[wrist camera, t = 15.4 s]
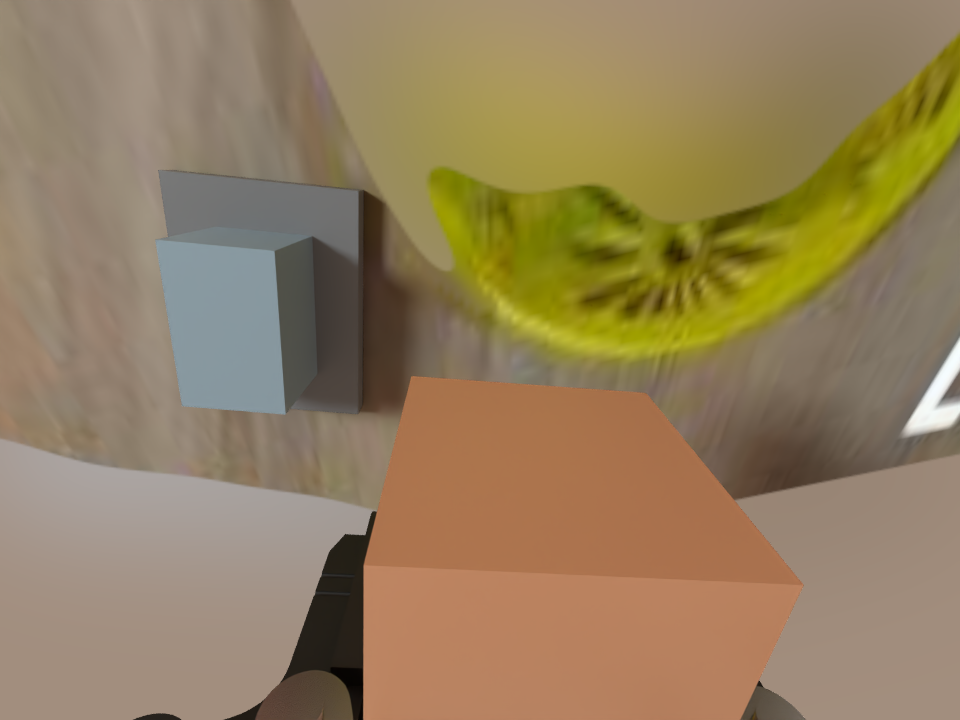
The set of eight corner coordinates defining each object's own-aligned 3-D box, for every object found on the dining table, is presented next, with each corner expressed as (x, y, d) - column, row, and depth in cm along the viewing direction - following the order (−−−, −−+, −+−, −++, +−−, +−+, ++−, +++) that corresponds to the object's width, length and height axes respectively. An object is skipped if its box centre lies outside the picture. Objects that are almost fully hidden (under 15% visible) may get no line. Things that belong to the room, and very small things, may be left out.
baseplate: (363, 190, 25) (358, 191, 24) (362, 405, 30) (358, 414, 29) (172, 170, 25) (158, 170, 23) (202, 391, 29) (192, 400, 28)
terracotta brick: (646, 392, 10) (803, 585, 5) (581, 651, 13) (646, 918, 8) (411, 375, 10) (363, 565, 5) (399, 645, 13) (362, 920, 8)
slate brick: (312, 235, 25) (274, 250, 20) (317, 373, 28) (285, 414, 23) (216, 226, 25) (155, 239, 20) (231, 366, 27) (182, 406, 23)
